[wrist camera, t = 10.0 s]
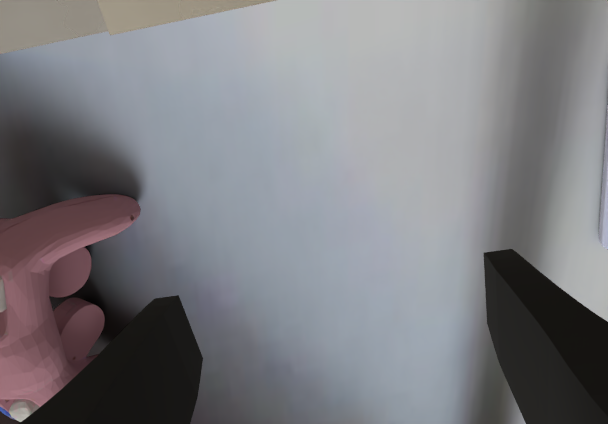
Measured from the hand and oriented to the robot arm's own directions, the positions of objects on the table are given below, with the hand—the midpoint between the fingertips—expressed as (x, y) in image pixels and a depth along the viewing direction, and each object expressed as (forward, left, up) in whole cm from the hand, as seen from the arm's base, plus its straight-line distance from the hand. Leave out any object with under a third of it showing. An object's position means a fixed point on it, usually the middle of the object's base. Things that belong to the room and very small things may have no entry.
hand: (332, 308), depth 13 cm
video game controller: (+12, +4, -10) cm, 16 cm away
